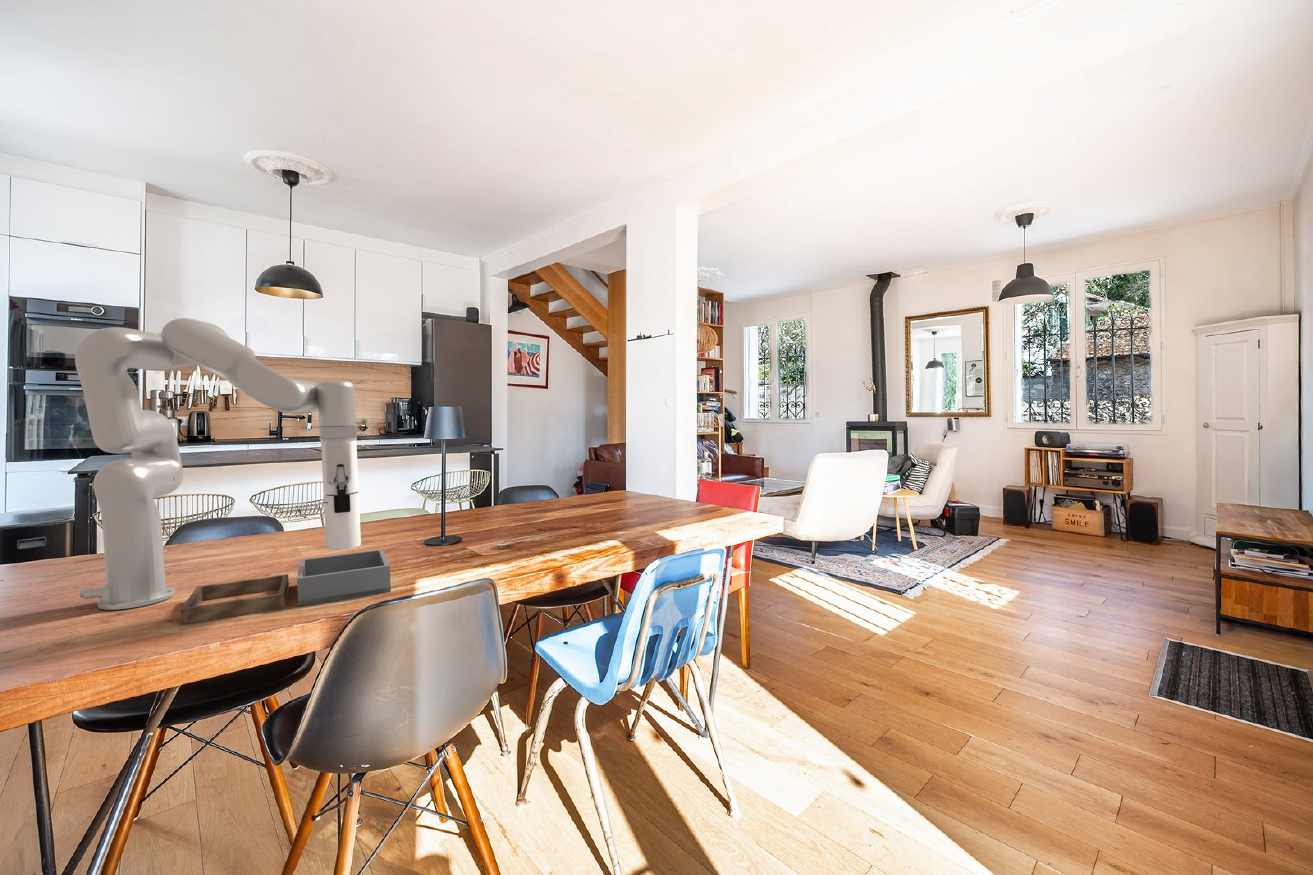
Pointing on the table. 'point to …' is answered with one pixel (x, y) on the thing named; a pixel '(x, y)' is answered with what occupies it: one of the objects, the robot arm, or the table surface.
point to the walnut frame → (199, 613)
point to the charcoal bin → (342, 576)
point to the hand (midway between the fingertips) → (342, 509)
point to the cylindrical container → (347, 524)
